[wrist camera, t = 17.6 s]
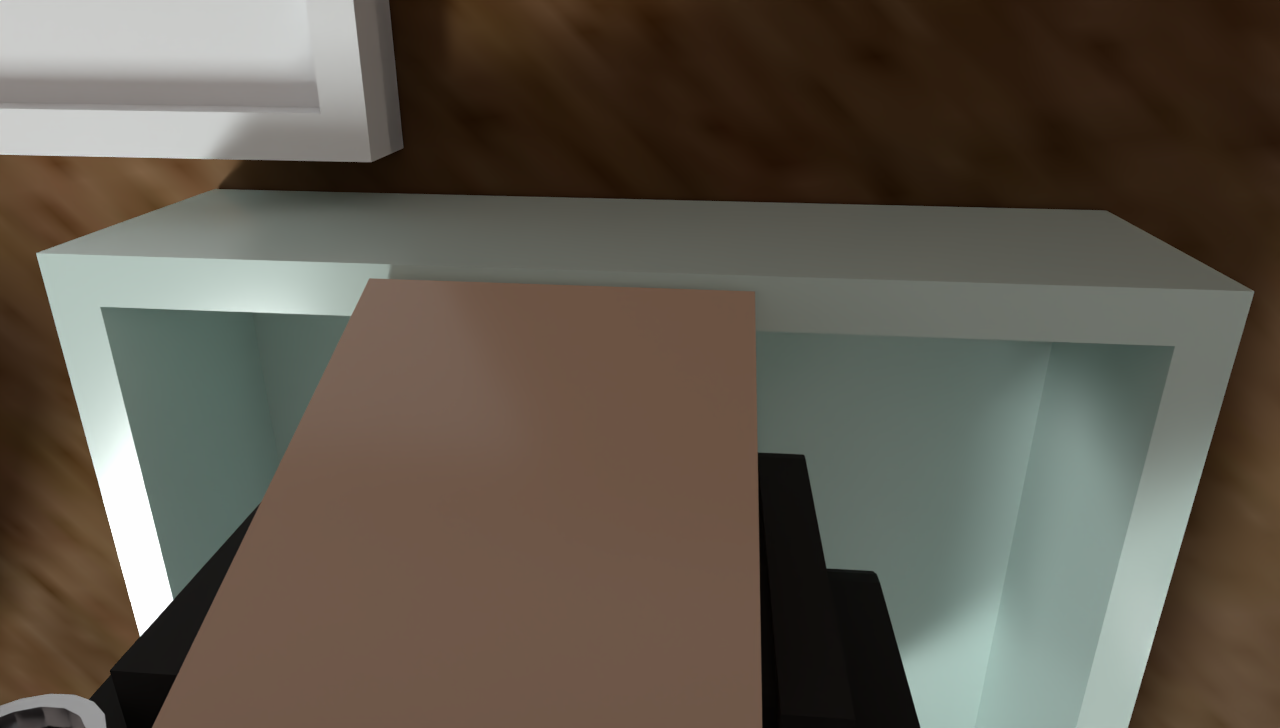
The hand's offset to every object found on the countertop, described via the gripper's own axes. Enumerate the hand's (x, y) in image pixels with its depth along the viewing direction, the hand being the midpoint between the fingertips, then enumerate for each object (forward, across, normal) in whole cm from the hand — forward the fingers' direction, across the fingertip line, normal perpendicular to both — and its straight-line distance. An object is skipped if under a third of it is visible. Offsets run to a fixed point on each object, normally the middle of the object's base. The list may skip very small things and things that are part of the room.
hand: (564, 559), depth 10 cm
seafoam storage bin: (+4, -1, +3) cm, 5 cm away
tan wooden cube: (+1, 0, -2) cm, 2 cm away
